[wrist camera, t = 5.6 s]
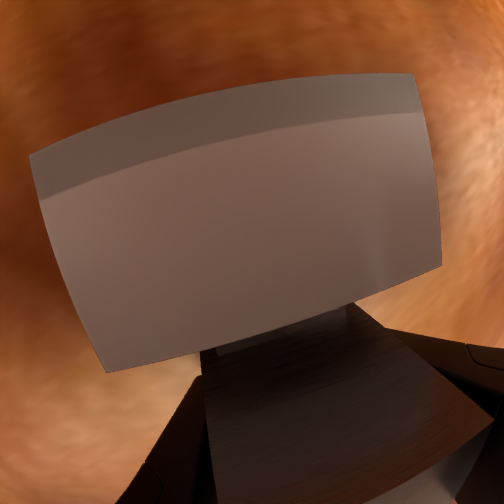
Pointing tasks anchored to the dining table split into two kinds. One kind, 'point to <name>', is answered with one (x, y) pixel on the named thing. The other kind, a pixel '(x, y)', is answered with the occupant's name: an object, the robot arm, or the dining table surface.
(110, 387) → the dining table surface
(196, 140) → the grey rectangular block
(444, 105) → the dining table surface
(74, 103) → the dining table surface
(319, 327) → the grey l-shaped block
